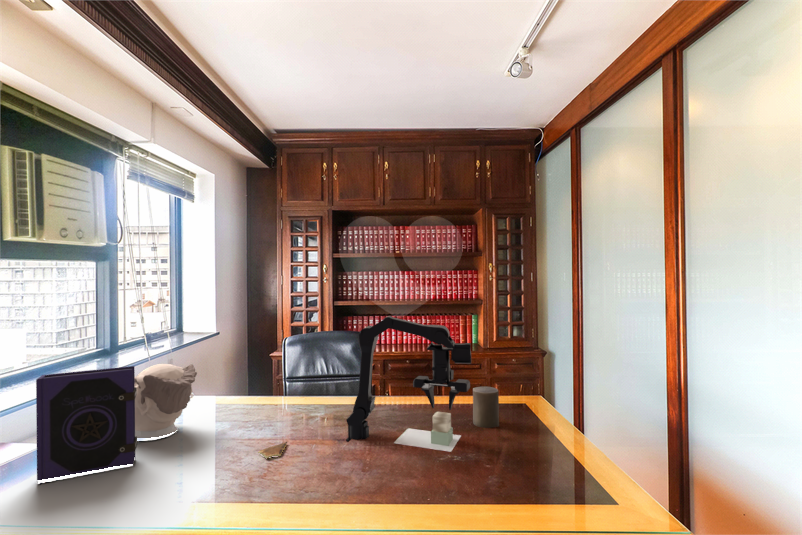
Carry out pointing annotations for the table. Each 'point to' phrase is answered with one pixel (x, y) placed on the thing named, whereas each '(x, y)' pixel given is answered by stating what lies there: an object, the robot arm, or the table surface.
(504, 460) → the table surface
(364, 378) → the robot arm
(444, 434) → the green block
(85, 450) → the book
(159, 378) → the bust
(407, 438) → the pale grey board
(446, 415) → the cream block
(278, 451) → the shard
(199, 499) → the table surface
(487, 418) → the pillar candle
